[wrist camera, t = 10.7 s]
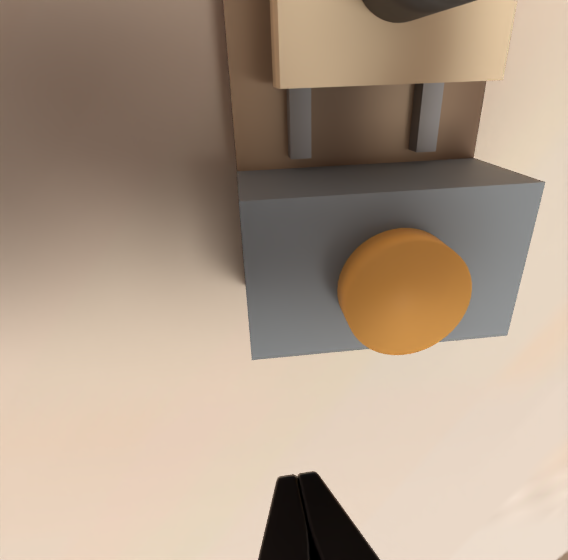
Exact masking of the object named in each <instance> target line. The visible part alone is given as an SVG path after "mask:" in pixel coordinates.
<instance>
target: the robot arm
mask: <svg viewBox="0 0 568 560" xmlns="http://www.w3.org/2000/svg"><path fill="white" fill-rule="evenodd" d="M258 560H380V559H379V557H378V556H377V555H376V553H375V552H374V551H373V549H372V548H371V546H370V545H369V544H368V542H367V541H366V539H365V538H364V537H363V535H362V534H361V533H360V531H359V530H358V528H357V527H356V526H355V524H354V523H353V521H352V520H351V519H350V517H349V516H348V515H347V513H346V512H345V510H344V509H343V508H342V506H341V505H340V504H339V502H338V501H337V499H336V498H335V497H334V495H333V494H332V492H331V491H330V490H329V488H328V487H327V486H326V484H325V483H324V481H323V480H322V479H321V477H320V476H319V475H318V474H317V473H316V472H314V471H312V472H305V473H300V474H298V476H296V475H293V474H292V475H286V476H280V477H278V479H277V481H276V485H275V490H274V494H273V498H272V502H271V507H270V511H269V515H268V519H267V524H266V528H265V532H264V537H263V541H262V545H261V549H260V554H259V558H258Z"/></svg>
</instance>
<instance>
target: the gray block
mask: <svg viewBox="0 0 568 560" xmlns="http://www.w3.org/2000/svg"><path fill="white" fill-rule="evenodd" d="M237 180H238V197H239V210H240V222H241V234H242V246H243V258H244V270H245V282H246V294H247V306H248V318H249V330H250V342H251V354H252V360H257V359H267V358H278V357H288V356H299V355H309V354H319V353H330V352H340V351H350V350H361V349H370V348H368V347H366V346H365V345H363V344H362V343H361V342H360V341H359V340H358V339H357V338H356V337H355V336H354V334H353V333H352V331H351V329H350V327H349V325H348V323H347V321H346V318H345V316H344V314H343V312H342V310H341V308H340V305H339V301H338V296H337V287H338V280H339V276H340V273H341V271H342V268H343V266H344V264H345V263H346V261H347V259H348V258H349V257H350V255H351V254H352V253H353V252H354V251H355V250H356V248H357V247H359V246H360V245H361V244H362V243H364V242H365V241H366V240H368V239H369V238H371V237H373V236H375V235H377V234H379V233H382V232H384V231H388V230H391V229H397V228H414V229H419V230H423V231H426V232H428V233H430V234H432V235H434V236H435V237H437V238H438V239H439V240H441V241H442V242H443V243H444V244H446V245H447V246H448V247H450V248H451V249H452V250H453V251H455V252H456V253H457V254H458V255H459V256H460V257H461V258H462V259H463V261H464V262H465V263H466V265H467V267H468V269H469V272H470V275H471V280H472V293H471V299H470V303H469V306H468V308H467V311H466V313H465V314H464V316H463V318H462V319H461V321H460V322H459V324H458V325H457V326H456V327H455V328H454V330H453V331H452V332H451V333H449V334H448V335H447V336H446V337H445V338H443V339H442V340H441V341H439V342H444V341H454V340H464V339H475V338H485V337H496V336H506V335H507V334H508V330H509V326H510V322H511V318H512V314H513V310H514V306H515V302H516V298H517V294H518V290H519V286H520V282H521V278H522V274H523V270H524V266H525V262H526V258H527V254H528V249H529V245H530V241H531V237H532V233H533V229H534V225H535V221H536V217H537V213H538V209H539V205H540V201H541V197H542V193H543V189H544V185H545V182H543V181H540V180H537V179H534V178H531V177H528V176H525V175H522V174H519V173H516V172H513V171H511V170H508V169H505V168H502V167H499V166H496V165H493V164H490V163H487V162H484V161H481V160H478V159H475V158H465V159H447V160H430V161H412V162H394V163H377V164H359V165H341V166H324V167H306V168H288V169H271V170H253V171H237Z"/></svg>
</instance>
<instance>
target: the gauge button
mask: <svg viewBox="0 0 568 560" xmlns="http://www.w3.org/2000/svg"><path fill="white" fill-rule="evenodd" d="M471 293H472V280H471V275H470V272H469V269H468V267H467V265H466V263H465V262H464V261H463V259H462V258H461V257H460V256H459V255H458V254H457V253H456V252H455V251H453V250H452V249H451V248H450V247H448V246H447V245H446V244H444V243H443V242H442V241H441V240H439V239H438V238H437V237H435V236H434V235H432V234H430V233H428V232H426V231H423V230H419V229H414V228H397V229H391V230H388V231H384V232H382V233H379V234H377V235H375V236H373V237H371V238H369V239H368V240H366V241H365V242H364V243H362V244H361V245H360V246H359V247H357V248H356V250H355V251H354V252H353V253H352V254H351V255H350V257H349V258H348V259H347V261H346V263H345V264H344V266H343V268H342V271H341V273H340V276H339V280H338V287H337V296H338V301H339V305H340V308H341V310H342V312H343V314H344V316H345V318H346V321H347V323H348V325H349V327H350V329H351V331H352V333H353V334H354V336H355V337H356V338H357V339H358V340H359V341H360V342H361V343H362V344H363V345H365V346H366V347H368V348H370V349H372V350H374V351H376V352H379V353H383V354H389V355H404V354H411V353H415V352H419V351H421V350H424V349H427V348H429V347H431V346H433V345H434V344H436V343H438V342H439V341H441V340H442V339H443V338H445V337H446V336H447V335H448V334H449V333H451V332H452V331H453V330H454V328H455V327H456V326H457V325H458V324H459V322H460V321H461V319H462V318H463V316H464V314H465V313H466V311H467V308H468V306H469V303H470V299H471Z"/></svg>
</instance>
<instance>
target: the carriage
mask: <svg viewBox="0 0 568 560" xmlns="http://www.w3.org/2000/svg"><path fill="white" fill-rule="evenodd" d="M516 5H517V0H270V22H271V47H272V71H273V87H274V88H278V89H293V88H318V87H343V86H368V85H394V84H419V83H444V82H469V81H495V80H503V77H504V71H505V66H506V60H507V55H508V49H509V44H510V38H511V33H512V27H513V22H514V16H515V11H516Z"/></svg>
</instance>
